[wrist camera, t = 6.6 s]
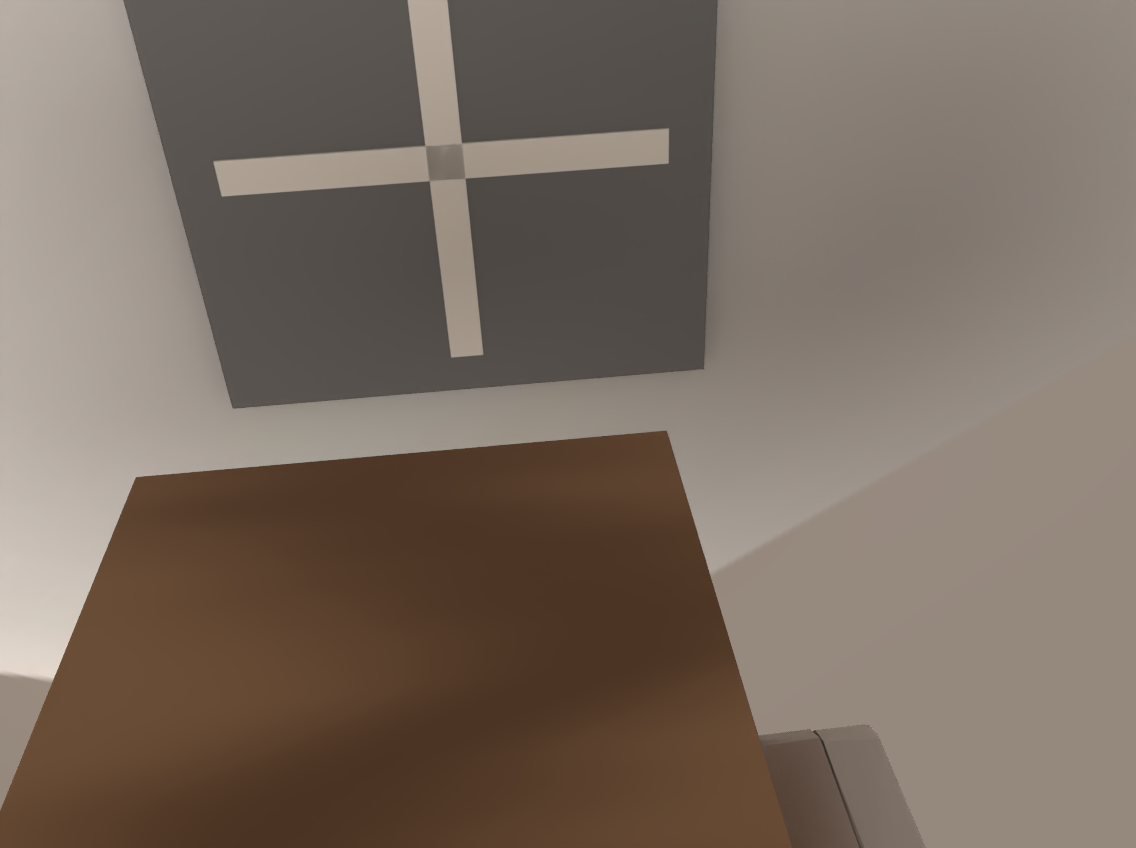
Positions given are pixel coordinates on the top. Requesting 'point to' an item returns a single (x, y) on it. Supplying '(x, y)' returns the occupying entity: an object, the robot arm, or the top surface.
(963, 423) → the top surface
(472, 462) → the walnut block
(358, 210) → the pad
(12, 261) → the top surface
